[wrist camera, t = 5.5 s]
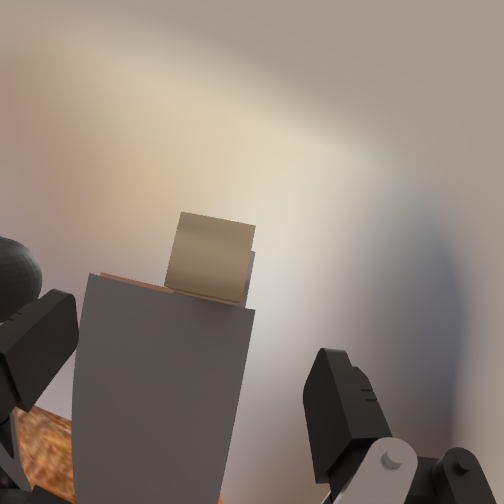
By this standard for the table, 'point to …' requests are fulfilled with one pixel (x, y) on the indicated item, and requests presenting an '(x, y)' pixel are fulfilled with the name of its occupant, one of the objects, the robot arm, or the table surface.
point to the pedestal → (154, 393)
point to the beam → (211, 259)
